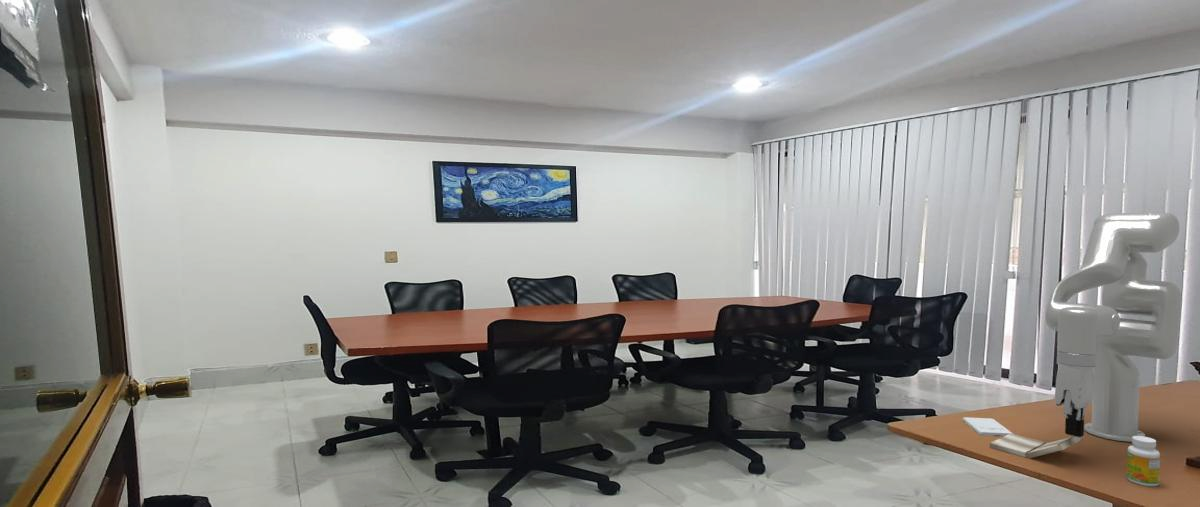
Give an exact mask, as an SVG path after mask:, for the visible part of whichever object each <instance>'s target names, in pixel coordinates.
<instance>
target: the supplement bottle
mask: <svg viewBox="0 0 1200 507" xmlns="http://www.w3.org/2000/svg"><path fill="white" fill-rule="evenodd" d="M1131 444H1132V445H1129V446H1128V447H1127V453H1126V454H1127V456H1126V457H1127V461H1126V479H1127V480H1128V481H1129V482H1131V483H1134V484H1137V485H1140V486H1145V487H1158V486H1159V484H1160V471H1161V470H1160V468H1161V464H1160V463H1161V453H1160V452H1159V450H1157V449H1156V447H1157V440H1156V439H1154V438H1152V437H1149V436H1145V437H1144V436H1133V437H1132V442H1131Z"/></svg>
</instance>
